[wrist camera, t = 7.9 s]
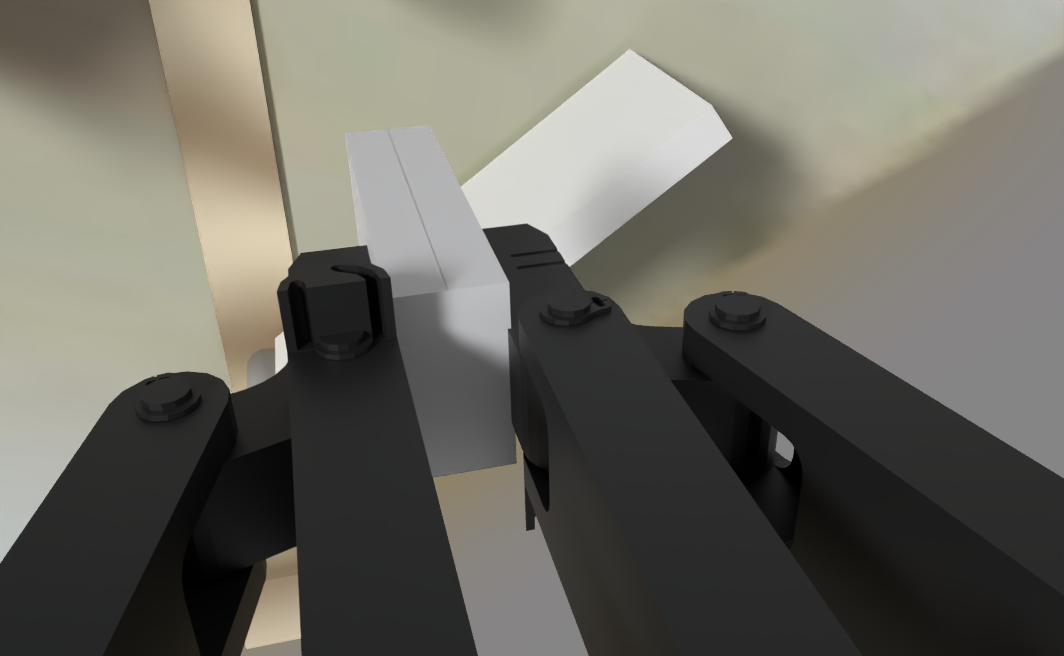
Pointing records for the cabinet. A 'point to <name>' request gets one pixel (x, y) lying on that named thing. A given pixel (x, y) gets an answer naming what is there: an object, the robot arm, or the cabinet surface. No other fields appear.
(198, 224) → the door frame
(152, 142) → the cabinet surface
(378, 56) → the cabinet surface
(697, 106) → the door
